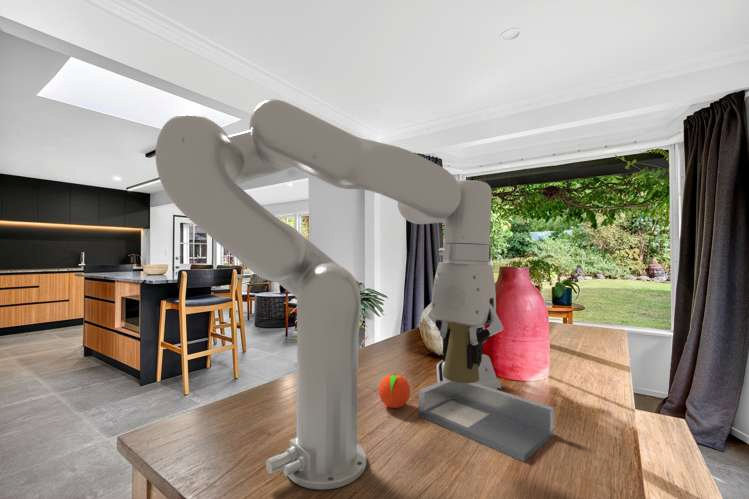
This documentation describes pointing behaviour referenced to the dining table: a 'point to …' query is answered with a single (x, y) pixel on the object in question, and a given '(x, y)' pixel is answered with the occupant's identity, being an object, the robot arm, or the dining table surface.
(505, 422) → the tray
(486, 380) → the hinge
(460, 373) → the olive pawn figure
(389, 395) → the clementine
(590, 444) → the dining table surface
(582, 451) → the dining table surface
